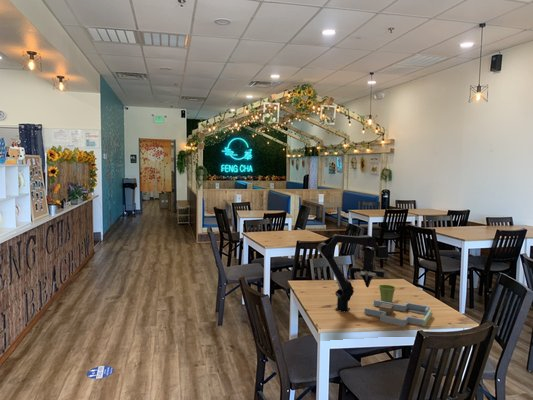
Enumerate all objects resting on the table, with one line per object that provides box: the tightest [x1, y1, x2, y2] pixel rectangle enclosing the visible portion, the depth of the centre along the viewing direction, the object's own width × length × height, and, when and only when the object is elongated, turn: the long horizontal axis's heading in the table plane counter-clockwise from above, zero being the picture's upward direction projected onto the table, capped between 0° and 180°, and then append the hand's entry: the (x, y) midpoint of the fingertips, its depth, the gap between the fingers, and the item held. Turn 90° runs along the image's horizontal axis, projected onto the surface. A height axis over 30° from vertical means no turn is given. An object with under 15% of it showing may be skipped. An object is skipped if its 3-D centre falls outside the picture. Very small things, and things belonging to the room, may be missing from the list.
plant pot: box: [378, 284, 397, 303], centre depth 228 cm, size 9×9×9 cm
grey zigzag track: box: [363, 299, 432, 327], centre depth 206 cm, size 29×30×3 cm
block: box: [378, 303, 394, 317], centre depth 209 cm, size 6×6×4 cm
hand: (367, 287), depth 214 cm, fingers closed
